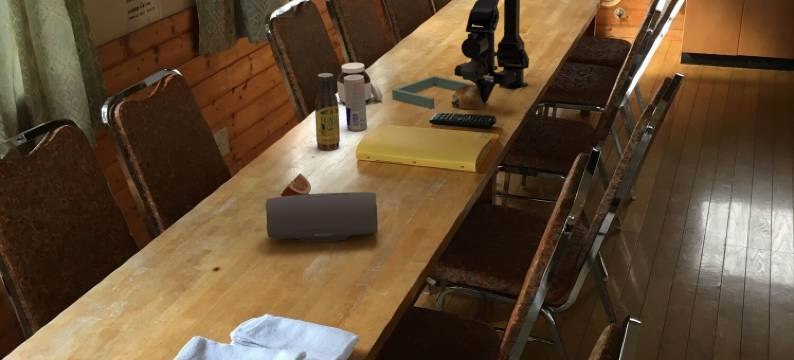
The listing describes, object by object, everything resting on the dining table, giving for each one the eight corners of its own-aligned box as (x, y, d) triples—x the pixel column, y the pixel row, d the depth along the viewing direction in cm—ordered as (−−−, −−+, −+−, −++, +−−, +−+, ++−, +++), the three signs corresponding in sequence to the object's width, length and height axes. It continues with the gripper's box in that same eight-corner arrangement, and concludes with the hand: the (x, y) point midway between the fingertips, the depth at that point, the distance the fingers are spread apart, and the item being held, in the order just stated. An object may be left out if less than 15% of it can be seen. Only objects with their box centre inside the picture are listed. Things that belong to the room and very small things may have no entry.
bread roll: (478, 122, 274) (490, 99, 271) (446, 107, 275) (457, 83, 271) (482, 111, 283) (493, 89, 280) (451, 97, 284) (462, 74, 280)
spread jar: (334, 103, 286) (332, 66, 282) (361, 94, 294) (358, 57, 289) (362, 110, 279) (360, 72, 274) (388, 100, 286) (386, 63, 282)
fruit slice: (290, 190, 224) (288, 171, 222) (316, 192, 222) (315, 173, 220) (276, 204, 216) (274, 184, 214) (303, 207, 214) (301, 186, 212)
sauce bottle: (322, 152, 246) (316, 79, 239) (313, 146, 252) (307, 74, 244) (345, 148, 249) (340, 75, 242) (335, 141, 254) (330, 70, 247)
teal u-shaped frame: (434, 84, 300) (434, 75, 298) (473, 93, 289) (473, 84, 288) (392, 99, 287) (392, 89, 286) (431, 108, 277) (431, 99, 275)
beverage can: (370, 125, 265) (367, 74, 259) (362, 132, 260) (359, 80, 254) (351, 124, 267) (348, 73, 261) (344, 131, 262) (340, 79, 256)
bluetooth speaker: (377, 225, 203) (375, 183, 199) (378, 244, 194) (375, 200, 191) (272, 231, 203) (268, 189, 199) (268, 251, 194) (263, 206, 190)
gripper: (441, 51, 269) (442, 103, 275) (492, 60, 257) (493, 115, 262) (466, 43, 276) (467, 94, 282) (517, 52, 264) (517, 105, 270)
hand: (485, 102), depth 274 cm, fingers closed
